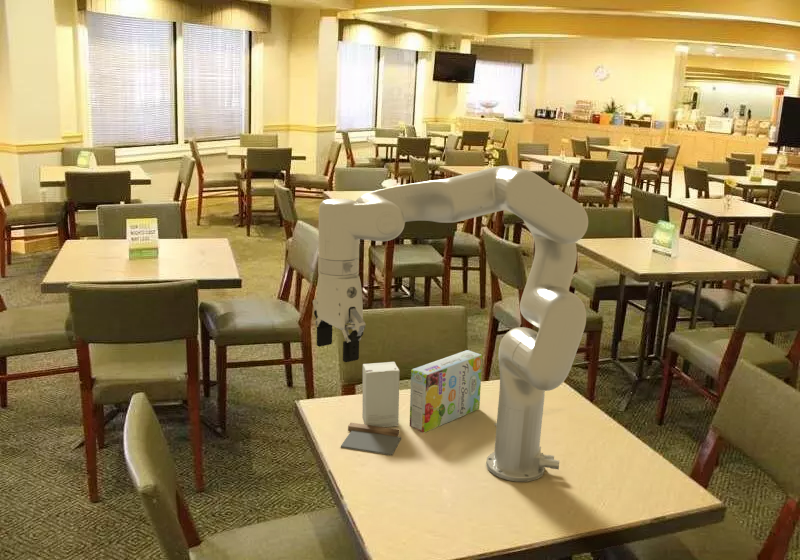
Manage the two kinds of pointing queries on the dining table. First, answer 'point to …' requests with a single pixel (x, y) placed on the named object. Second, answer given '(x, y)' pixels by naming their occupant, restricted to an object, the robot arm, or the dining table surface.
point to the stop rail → (373, 429)
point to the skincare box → (381, 394)
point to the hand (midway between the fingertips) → (337, 352)
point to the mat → (371, 442)
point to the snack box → (445, 390)
